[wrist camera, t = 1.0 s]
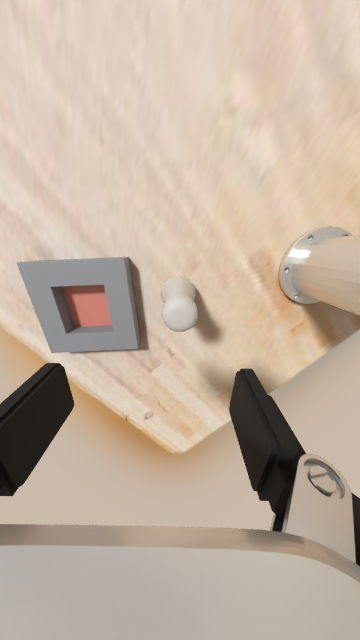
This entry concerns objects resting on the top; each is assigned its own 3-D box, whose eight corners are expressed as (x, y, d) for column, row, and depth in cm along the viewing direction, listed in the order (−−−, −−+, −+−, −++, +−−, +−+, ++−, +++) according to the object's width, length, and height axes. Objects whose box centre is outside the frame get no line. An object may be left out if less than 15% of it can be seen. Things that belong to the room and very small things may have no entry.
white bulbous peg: (190, 308, 33) (199, 343, 21) (160, 303, 32) (151, 337, 20) (197, 276, 30) (211, 297, 19) (164, 271, 30) (157, 288, 18)
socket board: (128, 257, 29) (123, 258, 26) (140, 340, 35) (137, 348, 32) (31, 261, 29) (16, 262, 26) (61, 344, 35) (51, 352, 32)
